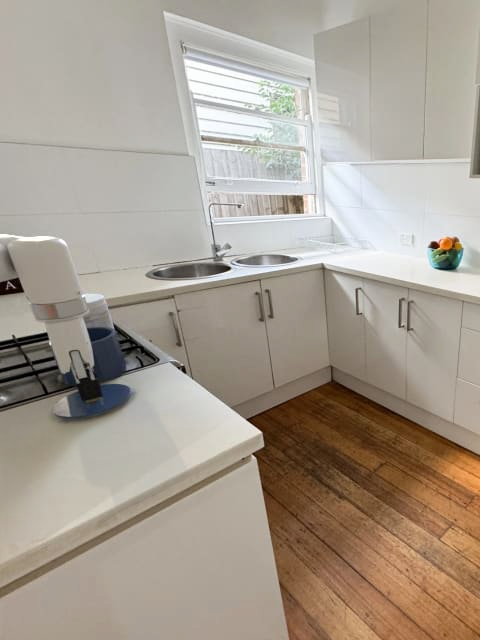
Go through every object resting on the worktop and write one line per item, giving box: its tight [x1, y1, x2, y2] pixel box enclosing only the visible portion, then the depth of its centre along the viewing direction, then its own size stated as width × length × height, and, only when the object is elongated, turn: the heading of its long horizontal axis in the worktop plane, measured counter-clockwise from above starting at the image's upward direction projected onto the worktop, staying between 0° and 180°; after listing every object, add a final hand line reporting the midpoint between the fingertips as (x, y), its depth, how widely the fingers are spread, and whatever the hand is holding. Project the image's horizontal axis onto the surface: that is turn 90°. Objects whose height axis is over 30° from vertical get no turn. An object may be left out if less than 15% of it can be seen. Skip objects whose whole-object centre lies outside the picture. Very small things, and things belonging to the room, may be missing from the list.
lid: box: [52, 383, 132, 420], centre depth 76 cm, size 12×12×7 cm
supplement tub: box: [83, 293, 115, 329], centre depth 95 cm, size 10×10×15 cm
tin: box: [48, 327, 127, 387], centre depth 86 cm, size 11×11×10 cm
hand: (91, 394), depth 76 cm, fingers closed on lid, 2 cm apart
